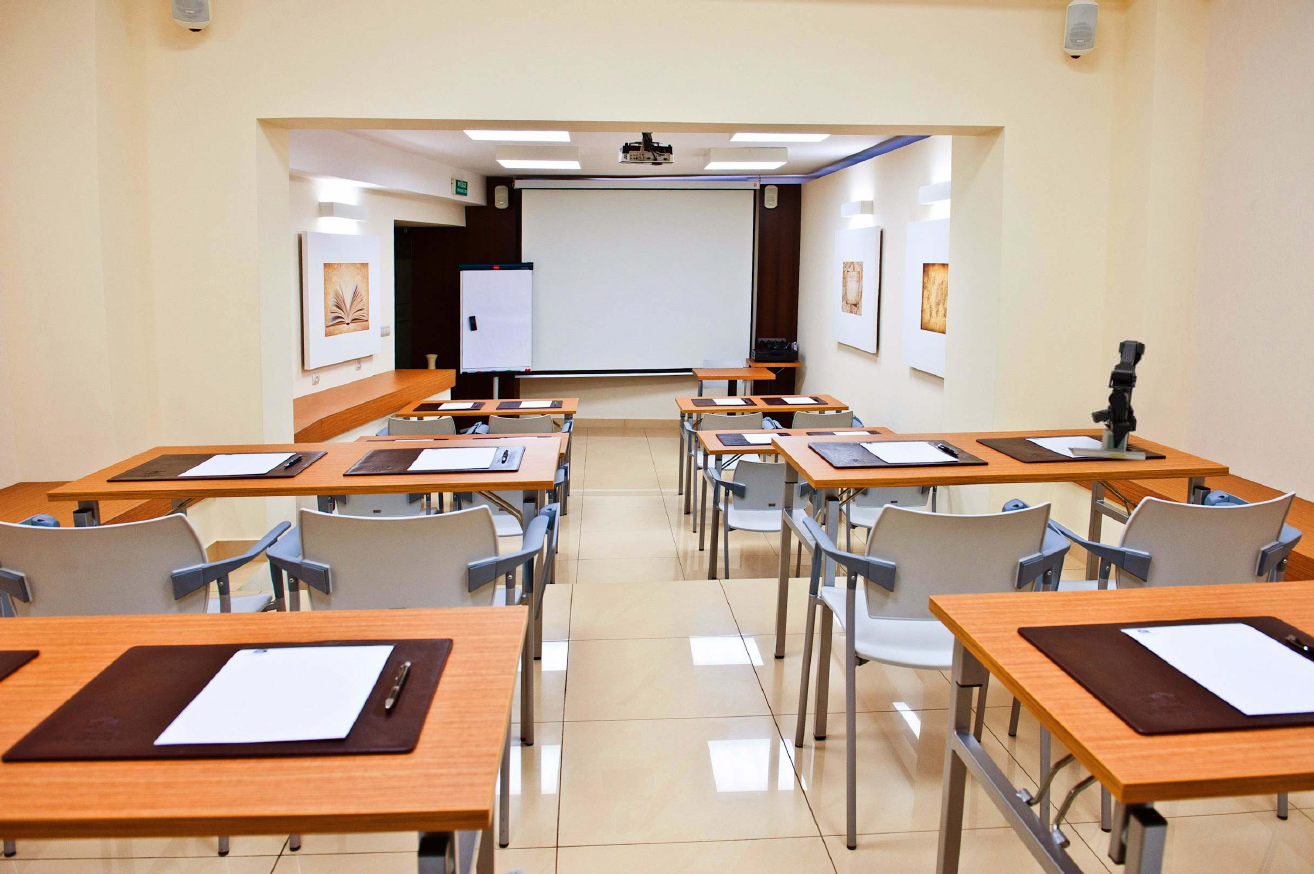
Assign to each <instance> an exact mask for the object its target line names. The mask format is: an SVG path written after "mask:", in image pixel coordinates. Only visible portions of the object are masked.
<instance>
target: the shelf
mask: <svg viewBox="0 0 1314 874" xmlns="http://www.w3.org/2000/svg"><path fill="white" fill-rule="evenodd" d="M1068 450H1069V451H1070V453H1071V454H1072V455H1074V456H1078V457H1080V456H1081V457H1094V458H1106V459H1108V458H1109V459H1119V460H1132V461H1133V460H1134V461H1145V460H1146V453H1145V452H1141V451H1127V450H1126V451H1116V450H1102V449H1101V448H1099V449H1098V448H1084V447H1068Z"/></svg>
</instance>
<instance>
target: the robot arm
mask: <svg viewBox="0 0 1314 874" xmlns="http://www.w3.org/2000/svg"><path fill="white" fill-rule="evenodd" d="M1118 345H1119V347H1118V354H1120V356H1119V358H1120V360H1119V363H1117V364H1116V365H1114V368H1113V370H1112V371H1111V373H1110V377H1109V383H1108V389H1112V391H1111V392H1110V395H1109V396H1108V403H1109V404H1108V405H1107V408H1106V409H1101V410H1097V411H1093V412H1091V418H1092V421H1093V423H1095V424H1099V423H1101V422H1103V423H1104V424H1103V425H1104V426H1105V427H1106V429H1110V430H1111V431H1112V433H1113V442H1114V448H1118V446H1119V445H1120V443H1121V442H1122V440H1123V439H1124V437H1125V436H1126V434H1127V433H1128V437H1127V444H1126V445H1129V439H1130V432H1131V433H1133V432H1136V431H1137V424H1138V423H1137V418H1136V415H1135V410H1134V408H1133V405H1132V396H1133V390H1134V388H1136V385H1137V384H1136V383H1137V380H1138V375H1137V373H1136V368H1137V365H1138V364H1139V362H1140V361H1142V359H1143V358H1142V357H1143V356H1145V350H1146V343H1143V342H1141V341H1137V340H1128V339H1127V340H1123V341H1121V342H1119V344H1118Z"/></svg>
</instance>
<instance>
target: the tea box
mask: <svg viewBox="0 0 1314 874" xmlns="http://www.w3.org/2000/svg"><path fill="white" fill-rule="evenodd" d="M1127 437H1128V433H1127V434H1126V436H1125V437H1124V439H1123V440H1122V442H1121V443H1120V445H1119V446H1118V448H1114V442H1113V433H1112V431H1111V430H1110V429H1108V428H1105V427H1104V428H1103V432H1102V439H1101V440H1102V441H1101V446H1100V447H1101V448H1100V449H1102V450H1116V451H1127V445H1128V444H1127Z"/></svg>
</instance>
